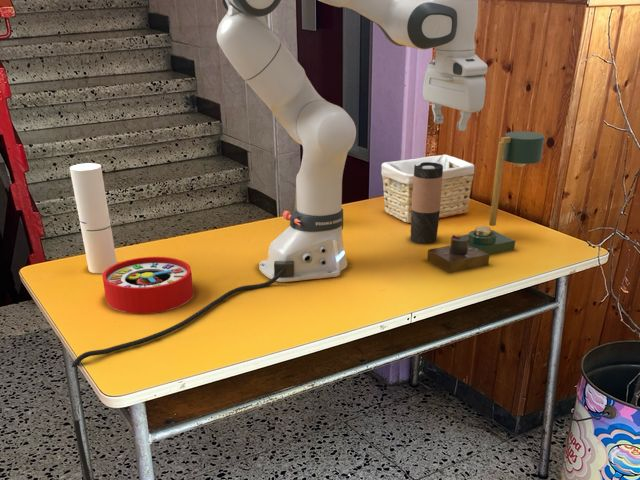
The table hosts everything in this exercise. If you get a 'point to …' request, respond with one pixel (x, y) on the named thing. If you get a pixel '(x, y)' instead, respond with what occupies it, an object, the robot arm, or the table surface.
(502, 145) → the desk lamp
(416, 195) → the travel mug
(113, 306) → the toy clock
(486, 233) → the power button
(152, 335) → the robot arm
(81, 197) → the cylindrical container
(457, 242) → the dimmer knob
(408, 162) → the basket
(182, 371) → the table surface
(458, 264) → the dimmer
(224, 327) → the table surface
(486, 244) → the lamp base
